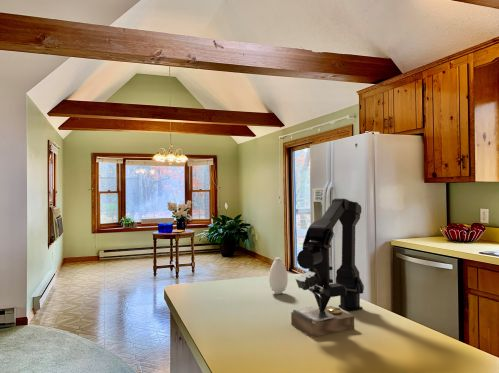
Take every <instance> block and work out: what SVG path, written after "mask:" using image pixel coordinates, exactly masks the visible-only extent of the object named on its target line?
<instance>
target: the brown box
mask: <svg viewBox="0 0 499 373" xmlns="http://www.w3.org/2000/svg"><path fill="white" fill-rule="evenodd" d="M329 307H333V305H329V306H326V308H325V310H324V311H326V312H327V308H329ZM296 310H297V309H293V310H292V311H290V312H291V313H290V314H291V315H290V316H291V317H290V319H291V320H290V321H291V322H290V324H291V326H293V327H295V328H297V329H298V330H300V331H301V332H303V333H305V334H306V335H308V336H309V337H311V338H313V337H315V338H316V337H320V336H324V335H330V334H335V333H340V332H347V331H351V330H355V316H354V315H352V314H350V313H348V312H346V311H343V310H341V314H337V315H334V318H330V319H326V320H323V321H319V322H314V321H312V319H311V318H309V317H307V316H306V315H304V314H302V313H300V312H298V311H296Z"/></svg>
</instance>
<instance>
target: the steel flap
mask: <svg viewBox="0 0 499 373" xmlns="http://www.w3.org/2000/svg"><path fill="white" fill-rule="evenodd" d="M295 310H296V311H298V312H300V313H302V314H304V315H306V316H307V317H309V318H311V319H312V321H314V322H319V321H323V320H326V319H330V318H334V315H332V314H330V313H328V312H326V311H322V312H321V311H320V310H319V307H318V306H315V305H312V306H309V307H304V308H300V309H295Z"/></svg>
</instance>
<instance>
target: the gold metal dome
mask: <svg viewBox="0 0 499 373" xmlns="http://www.w3.org/2000/svg"><path fill="white" fill-rule="evenodd" d="M341 311H342V309H341V307H334V306H332V307H329V308H327V312H328V313H330V314H332V315H337V314H341Z"/></svg>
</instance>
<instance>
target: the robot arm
mask: <svg viewBox="0 0 499 373" xmlns="http://www.w3.org/2000/svg"><path fill="white" fill-rule="evenodd" d="M324 212H325V213H324V214H323V215H322V217H321V218H320V219H317V220H315V221H313V222H312V223H311V224H310V225H309V226H308V228H307V230H306V234H305V236H304V239H303V243H302V250H301V251H299V252H298V253H297V256H296V261H297V263H298V265H299V267H301V268H302V269H303V270H304V269H305V270H308V271H307V272H304V273H301V274H299V276H297V277H295V282H296V283H297V287H298V288H299V289H302V290H303V291H307V290H308V291H309V292H311V294H313V296H314V298H315V301H316V304H317V307H318V308H319V310H320V311H321V312H322V311H324V310H325V308H326V307H328V306H327V305H328V304H329V302H330V300H331V298H335V297H339V298H340V299H339V300H340V301H339V302H340V303H339V304H338V308H340V309H341V308H342V309H343V310H346V311H347V312H349V311H350V312H351V311H352V312H353V311H357V310H358V311H359V310H362V309H363V307H362V306H361V305H360V304H361V301H360V300H361V299H360V298H361V296H360V295H361V294H364V289H365V286H364V284H363V282H362V279H361V278H360V276H361V275H360V271H359V269H358V268H357V266H356V225H358V223H359V221H360V218H361V214H362V206H361V204H359V202H357V201H352V200H348V199H347V198H334V199H332V200H331V204H330V206H329V207H328V208H327V210H326V211H324ZM337 222H340V224H341V228H342V229H341V265H340V266H339V267H338V268H337V270H336V275H335V283H334V282H333V281H334V280H333V279H332V278H331V275H330V274H331V271H333V266H331V265H330V263H331V261H330V249H331V247H332V245H331V242H332V240H333V238H334V234H335V232H334V227H335V225H336V224H337Z"/></svg>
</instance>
